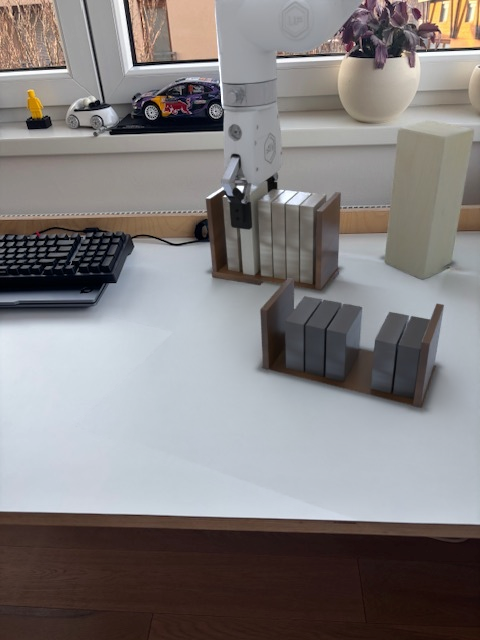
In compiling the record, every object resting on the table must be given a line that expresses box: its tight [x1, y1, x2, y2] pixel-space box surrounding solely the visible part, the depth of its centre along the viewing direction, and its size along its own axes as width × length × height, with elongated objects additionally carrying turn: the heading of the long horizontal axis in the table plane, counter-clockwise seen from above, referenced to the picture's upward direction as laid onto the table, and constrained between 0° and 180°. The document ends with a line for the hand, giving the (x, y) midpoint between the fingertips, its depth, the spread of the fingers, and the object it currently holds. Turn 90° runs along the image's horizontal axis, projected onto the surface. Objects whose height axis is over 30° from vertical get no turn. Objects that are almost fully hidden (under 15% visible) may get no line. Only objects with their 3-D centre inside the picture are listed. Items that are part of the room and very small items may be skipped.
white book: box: [240, 181, 268, 275], centre depth 83 cm, size 2×6×13 cm, turn 153°
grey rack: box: [259, 278, 445, 409], centre depth 61 cm, size 18×8×9 cm, turn 63°
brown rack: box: [205, 186, 342, 292], centre depth 82 cm, size 18×8×13 cm, turn 63°
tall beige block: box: [384, 120, 475, 280], centre depth 80 cm, size 8×7×21 cm
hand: (255, 216), depth 82 cm, fingers open, 8 cm apart
